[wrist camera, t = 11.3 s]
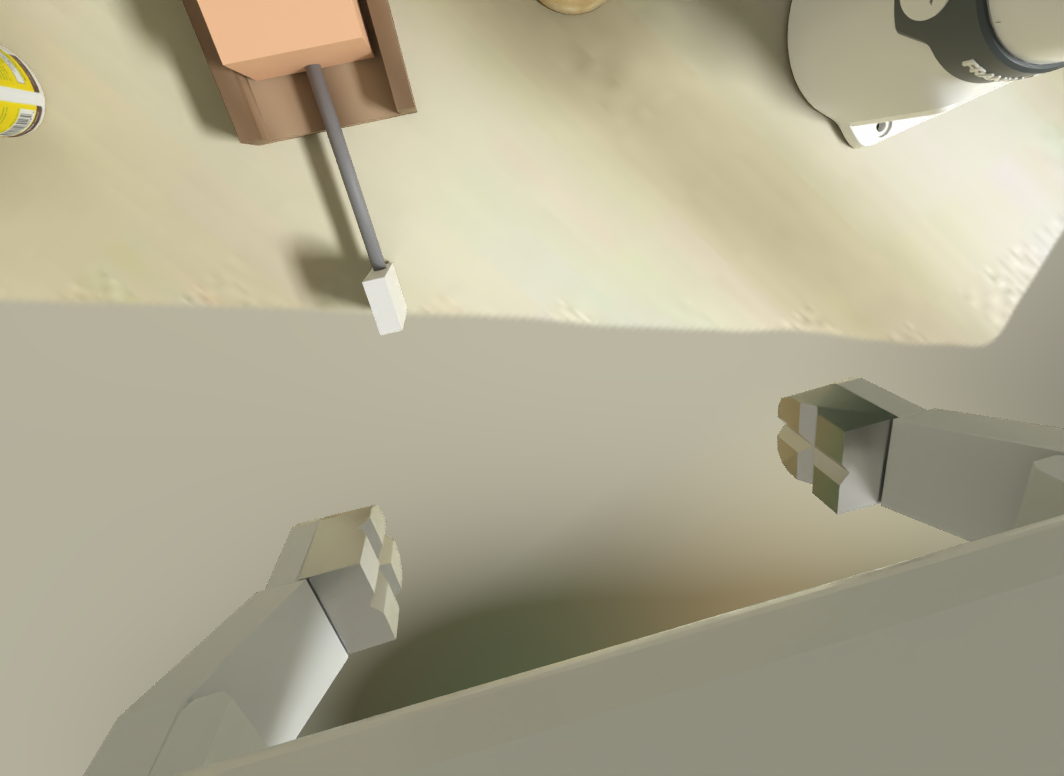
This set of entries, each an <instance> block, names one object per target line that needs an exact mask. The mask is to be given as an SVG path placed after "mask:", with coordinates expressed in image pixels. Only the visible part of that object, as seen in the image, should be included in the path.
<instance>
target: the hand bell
mask: <svg viewBox="0 0 1064 776" xmlns="http://www.w3.org/2000/svg"><path fill="white" fill-rule="evenodd" d="M539 1H540V2H541V3H543V4H544V5H545V6H547V7H548V8H550V9H552V10H554V11H556V12H560V13H563V14H570V15H575V14H582V13H586V12H589V11H592V10H594V9H596V8H597V7H599V6H600V5H602V4H603V3H604V2H605V1H607V0H539Z"/></svg>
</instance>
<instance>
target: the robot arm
mask: <svg viewBox="0 0 1064 776" xmlns="http://www.w3.org/2000/svg"><path fill="white" fill-rule="evenodd" d="M788 52H789V59H790V64H791V68H792V72H793V75H794V78H795V80H796V83H797V85H798V87H799V89H800V91H801V92H802V94H803V95H804V97H805V98H806V99H807V101H808V102H809V103H810V104H811V105H812V106H813V107H814V108H815V109H817V110H818V111H819V112H821V113H823V114H824V115H826V116H828V117H829V118H831V119H832V120H834V121H835V122H836V123H837V124H838V126H839V128H840V130H841V131H842V133H843V135H844V137H845V139H846V140H847V142H848V143H849V144H850V145H851V146H852V147H853V148H864V147H869V146H872V145H874V144H876V143H878V142H880V141H883V140H885V139H887V138H889V137H891V136H894V135H896V134H898V133H900V132H902V131H905V130H907V129H909V128H911V127H913V126H916V125H918V124H920V123H922V122H924V121H927V120H929V119H931V118H933V117H935V116H938V115H940V114H942V113H944V112H947V111H949V110H951V109H953V108H955V107H958V106H960V105H962V104H964V103H966V102H969V101H971V100H973V99H975V98H977V97H980V96H982V95H984V94H986V93H988V92H991V91H993V90H995V89H997V88H999V87H1002V86H1004V85H1006V84H1008V83H1010V82H1012V81H1014V80H1020V79H1024V78H1028V77H1033V76H1037V75H1040V74H1042V73H1046V72H1050V71H1053V70H1056V69H1059V68H1062V67H1064V0H792V4H791V8H790V14H789V22H788ZM878 123H879V127H878V129H876V126H877V124H878ZM778 418H779V419H780V420H781V421H782V422H783V423H784V424H785V425H784V426H783V428H782V430H781V431H780V433H779V434H778V436H777V440H778V441H777V443H778V452H779V455H780V458H781V461H782V463H783V464H784V466H785V468H786V469H787V470H788V471H789V473H790V474H792V475H793V476H794V477H795V478H796V479H798V480H801V481H804V482H807V483H810V484H812V493H813V494H814V495H815V496H816V497H818V498H819V499H820V500H821V501H823V502H824V503H825V504H826V505H827V506H828V507H829V508H830V509H832V510H833V511H834V512H835V513H836V514H841V513H844V512H849V511H852V510H856V509H861V508H864V507H868V506H872V505H876V504H880V503H881V506H883V507H885V508H888V509H891V510H893V511H895V512H898V513H900V514H903V515H906V516H908V517H910V518H913V519H915V520H918V521H921V522H923V523H925V524H928V525H930V526H933V527H935V528H938V529H940V530H943V531H945V532H948V533H950V534H953V535H955V536H958V537H960V538H963V539H965V540H968V541H970V542H968V543H965V544H961V545H958V546H955V547H951V548H948V549H945V550H941V551H938V552H934V553H931V554H928V555H924V556H921V557H917V558H914V559H910V560H907V561H903V562H900V563H897V564H893V565H890V566H886V567H883V568H879V569H876V570H873V571H869V572H866V573H862V574H859V575H855V576H852V577H848V578H845V579H842V580H838V581H834V582H831V583H828V584H824V585H821V586H817V587H814V588H810V589H807V590H803V591H800V592H797V593H793V594H790V595H786V596H783V597H779V598H776V599H772V600H769V601H766V602H762V603H759V604H755V605H752V606H749V607H745V608H742V609H738V610H735V611H732V612H728V613H725V614H721V615H718V616H714V617H711V618H708V619H704V620H701V621H697V622H694V623H691V624H687V625H684V626H680V627H677V628H674V629H670V630H667V631H663V632H660V633H657V634H653V635H650V636H646V637H643V638H640V639H636V640H633V641H629V642H626V643H623V644H619V645H616V646H612V647H609V648H605V649H602V650H599V651H595V652H592V653H588V654H585V655H582V656H579V657H575V658H571V659H568V660H565V661H561V662H558V663H555V664H551V665H547V666H544V667H541V668H538V669H534V670H530V671H527V672H524V673H520V674H517V675H513V676H510V677H507V678H503V679H500V680H496V681H493V682H490V683H486V684H483V685H479V686H476V687H472V688H469V689H466V690H462V691H459V692H455V693H452V694H448V695H445V696H442V697H438V698H435V699H431V700H428V701H425V702H421V703H418V704H414V705H411V706H407V707H404V708H401V709H398V710H394V711H390V712H387V713H384V714H380V715H377V716H373V717H370V718H366V719H363V720H360V721H356V722H353V723H349V724H346V725H343V726H339V727H336V728H332V729H329V730H325V731H322V732H319V733H315V734H312V735H308V736H305V737H302V738H298V739H296V737H297V736H298V734H299V733H300V731H301V729H302V728H303V726H304V725H305V723H306V722H307V720H308V719H309V717H310V716H311V714H312V713H313V711H314V709H315V708H316V706H317V705H318V703H319V702H320V700H321V699H322V697H323V696H324V694H325V692H326V691H327V689H328V687H329V686H330V685H331V683H332V682H333V680H334V679H335V677H336V675H337V674H338V672H339V671H340V669H341V668H342V666H343V665H344V663H345V661H346V660H347V658H348V655H347V654H350V653H354V652H356V651H360V650H363V649H366V648H369V647H373V646H376V645H379V644H382V643H385V642H389V641H392V640H395V639H396V635H397V625H398V615H399V606H398V604H397V601H396V599H395V596H396V595H397V593H398V592H399V591H400V590H401V586H402V567H401V560H400V556H399V552H398V549H397V546H396V544H395V541H394V539H392V538H391V537H389V536H387V535H385V534H384V532H385V526H386V520H385V518H384V516H383V514H382V512H381V509H380V508H379V507H378V506H376V505H372V506H368V507H364V508H360V509H355V510H351V511H347V512H343V513H339V514H335V515H331V516H327V517H324V518H318V519H314V520H311V521H307V522H303V523H300V524H297V525H295V526H294V527H292V529H291V531H290V533H289V536H288V538H287V540H286V543H285V545H284V547H283V550H282V552H281V554H280V556H279V559H278V561H277V563H276V566H275V568H274V570H273V572H272V575H271V577H270V579H269V582H268V584H267V586H266V589H265V590H263V591H260V592H256V593H255V594H254V595H253V596H252V597H251V598H249V599H248V600H247V601H246V602H245V603H244V604H243V605H242V606H241V607H240V608H238V610H236V611H235V612H234V613H233V614H232V615H231V616H230V617H229V618H227V619H226V620H225V621H224V622H223V623H222V624H221V625H220V626H219V627H218V628H217V629H215V630H214V631H213V632H212V633H211V634H210V635H209V636H208V637H207V638H206V639H204V640H203V641H202V642H201V643H200V644H199V645H198V646H197V647H195V648H194V649H193V650H192V651H191V652H190V653H189V654H188V655H187V656H186V657H185V658H183V659H182V660H181V661H180V662H179V663H178V664H177V665H176V666H175V667H173V668H172V669H171V670H170V671H169V672H168V673H167V674H166V675H165V676H164V677H163V678H161V679H160V680H159V681H158V682H157V683H156V684H155V685H154V686H152V687H151V688H150V689H149V690H148V691H147V692H146V693H145V694H144V695H143V696H141V697H140V698H139V699H138V700H137V701H136V702H135V703H134V704H133V705H132V706H130V707H129V708H128V709H127V710H126V711H125V712H124V713H123V714H122V715H121V716H119V717H118V718H117V720H116V722H115V723H114V725H113V727H112V728H111V730H110V732H109V733H108V735H107V737H106V738H105V740H104V742H103V743H102V745H101V747H100V748H99V750H98V752H97V753H96V755H95V757H94V758H93V760H92V762H91V763H90V765H89V767H88V768H87V770H86V772H85V773H84V775H83V776H1064V428H1059V427H1052V426H1047V425H1040V424H1033V423H1027V422H1021V421H1014V420H1008V419H1001V418H995V417H989V416H982V415H976V414H969V413H962V412H956V411H950V410H943V409H936V408H934V409H930V410H926V409H924V408H922V407H919V406H918V405H916V404H913V403H911V402H909V401H907V400H905V399H903V398H901V397H899V396H897V395H895V394H893V393H891V392H889V391H887V390H885V389H883V388H881V387H879V386H877V385H875V384H873V383H871V382H869V381H867V380H865V379H863V378H855V377H852V378H848V379H845V380H842V381H838V382H835V383H832V384H829V385H826V386H823V387H819V388H816V389H812V390H809V391H805V392H802V393H798V394H795V395H791V396H788V397H784V398H782V399H781V401H780V403H779V406H778Z"/></svg>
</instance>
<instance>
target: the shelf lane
mask: <svg viewBox="0 0 1064 776" xmlns="http://www.w3.org/2000/svg"><path fill="white" fill-rule="evenodd" d="M182 1H183V3H184V6H185V8H186V11H187V13H188V15H189V18H190V20H191V23H192V25H193V28H194V30H195V32H196V35H197V37H198V40H199V42H200V45H201V47H202V49H203V52H204V54H205V57H206V59H207V62H208V64H209V67H210V69H211V71H212V74H213V76H214V79H215V81H216V84H217V86H218V88H219V91H220V93H221V96H222V98H223V101H224V103H225V106H226V108H227V110H228V113H229V115H230V118H231V120H232V123H233V125H234V127H235V130H236V132H237V135H238V137H239V140H240V142H241V143H244V144H251V145H264V144H269V143H273V142H278V141H283V140H288V139H292V138H297V137H302V136H307V135H311V134H316V133H321V132H326V129H325V126H324V123H323V120H322V117H321V114H320V111H319V108H318V105H317V102H316V99H315V96H314V93H313V90H312V87H311V84H310V81H309V79H308V76H307V73H306V71H305V72H300V73H295V74H290V75H285V76H280V77H275V78H270V79H265V80H260V81H256V80H254V79H251V78H249V77H247V76H245V75H243V74H241V73H239V72H237V71H235V70H232V69H230V68H228V67H226V66H224V65H223V64H222V62H221V59H220V57H219V54H218V52H217V49H216V47H215V44H214V42H213V39H212V37H211V34H210V32H209V29H208V27H207V24H206V22H205V19H204V17H203V14H202V12H201V9H200V7H199V4H198V1H197V0H182ZM359 3H360V6H361V10H362V13H363V17H364V20H365V24H366V27H367V31H368V34H369V38H370V41H371V45H372V49H373V52H374V56H375V57H374V58H369V59H364V60H359V61H354V62H349V63H344V64H339V65H334V66H329V67H324V68H322V72H323V75H324V78H325V81H326V84H327V87H328V90H329V93H330V96H331V99H332V102H333V105H334V108H335V111H336V114H337V118H338V121H339V124H340V127H341V128H344V127H349V126H354V125H359V124H363V123H368V122H373V121H378V120H382V119H387V118H392V117H397V116H401V115H406V114H411V113H416V112H417V110H416V106H415V102H414V98H413V94H412V91H411V87H410V83H409V79H408V75H407V72H406V68H405V64H404V60H403V56H402V52H401V49H400V45H399V41H398V37H397V33H396V30H395V26H394V22H393V18H392V14H391V10H390V7H389V3H388V0H359Z"/></svg>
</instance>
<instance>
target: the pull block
mask: <svg viewBox="0 0 1064 776" xmlns="http://www.w3.org/2000/svg"><path fill="white" fill-rule="evenodd" d="M197 1H198V4H199V7H200V9H201V12H202V14H203V17H204V19H205V22H206V24H207V27H208V29H209V32H210V34H211V37H212V39H213V42H214V44H215V47H216V49H217V52H218V54H219V57H220V59H221V62H222V64H223V65H224V66H226V67H228V68H230V69H232V70H235V71H237V72H239V73H241V74H243V75H245V76H247V77H249V78H251V79H254V80H256V81H260V80H265V79H270V78H275V77H280V76H285V75H290V74H295V73H300V72H305V71H306V73H307V76H308V79H309V81H310V84H311V87H312V90H313V93H314V96H315V99H316V102H317V105H318V108H319V111H320V114H321V117H322V120H323V123H324V126H325V129H326V132H327V135H328V138H329V141H330V144H331V146H332V149H333V152H334V155H335V158H336V161H337V164H338V167H339V170H340V173H341V176H342V179H343V182H344V185H345V188H346V191H347V194H348V197H349V200H350V203H351V206H352V209H353V211H354V214H355V217H356V220H357V223H358V226H359V229H360V232H361V235H362V238H363V241H364V244H365V247H366V250H367V253H368V256H369V259H370V262H371V265H372V269H371V271H370V272H369V273H368V275H367V276H366V277H365V279H364V280H363V282H362V284H363V287H364V290H365V292H366V295H367V298H368V301H369V304H370V307H371V309H372V312H373V315H374V318H375V321H376V324H377V326H378V329H379V332H380V335H384V334H388V333H393V332H397V331H401V330H402V329H403V325H404V321H405V317H406V313H407V310H408V309H407V306H406V303H405V300H404V296H403V293H402V290H401V287H400V284H399V281H398V278H397V274H396V271H395V268H394V265H393V262H392V263H388V264H385V262H384V259H383V256H382V252H381V249H380V246H379V243H378V240H377V237H376V234H375V231H374V228H373V225H372V222H371V219H370V216H369V213H368V210H367V206H366V203H365V200H364V197H363V194H362V191H361V188H360V185H359V182H358V179H357V176H356V173H355V170H354V167H353V164H352V160H351V157H350V154H349V151H348V148H347V145H346V142H345V139H344V136H343V133H342V130H341V127H340V124H339V121H338V118H337V114H336V111H335V108H334V105H333V102H332V99H331V96H330V93H329V90H328V87H327V84H326V81H325V78H324V75H323V72H322V68H324V67H329V66H334V65H339V64H344V63H349V62H354V61H359V60H364V59H369V58H374V57H375V56H374V52H373V49H372V45H371V41H370V38H369V34H368V31H367V27H366V24H365V20H364V17H363V13H362V10H361V6H360V3H359V0H197Z"/></svg>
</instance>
